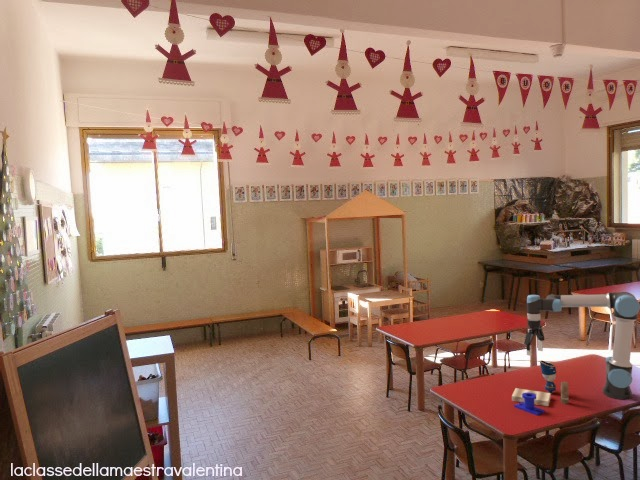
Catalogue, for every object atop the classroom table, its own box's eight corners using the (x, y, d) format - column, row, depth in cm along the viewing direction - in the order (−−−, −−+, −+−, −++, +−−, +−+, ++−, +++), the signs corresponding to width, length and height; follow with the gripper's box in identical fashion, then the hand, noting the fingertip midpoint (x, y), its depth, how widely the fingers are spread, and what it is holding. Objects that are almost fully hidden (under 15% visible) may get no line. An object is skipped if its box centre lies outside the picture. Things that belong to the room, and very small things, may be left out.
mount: (514, 407, 280) (513, 392, 279) (522, 404, 284) (522, 389, 283) (537, 415, 267) (536, 400, 267) (545, 412, 271) (545, 397, 270)
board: (550, 398, 290) (550, 393, 290) (548, 406, 278) (548, 401, 278) (515, 392, 301) (515, 388, 300) (511, 400, 289) (511, 395, 289)
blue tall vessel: (559, 396, 291) (559, 364, 290) (543, 396, 293) (542, 364, 292) (553, 389, 304) (553, 358, 303) (537, 388, 306) (537, 358, 305)
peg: (568, 401, 283) (568, 382, 283) (568, 404, 280) (568, 384, 279) (561, 400, 286) (560, 381, 285) (560, 403, 282) (560, 383, 281)
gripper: (538, 315, 308) (539, 347, 309) (517, 322, 293) (518, 356, 294) (549, 317, 302) (550, 349, 303) (529, 324, 287) (530, 358, 288)
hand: (534, 353), depth 299 cm, fingers open, 13 cm apart
